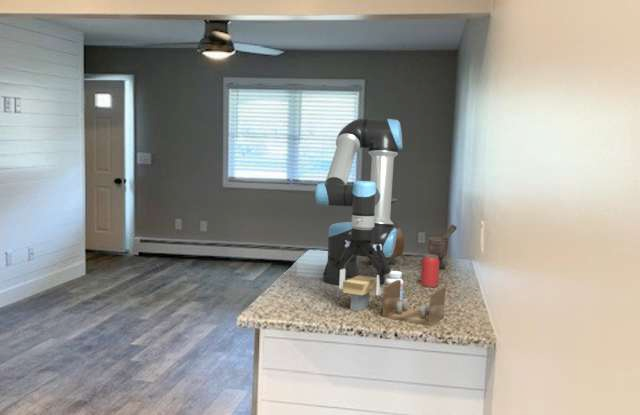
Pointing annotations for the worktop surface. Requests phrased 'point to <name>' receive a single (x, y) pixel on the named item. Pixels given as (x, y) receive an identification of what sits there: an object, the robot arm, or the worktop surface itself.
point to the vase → (399, 241)
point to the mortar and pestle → (440, 245)
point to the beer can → (430, 270)
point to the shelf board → (359, 285)
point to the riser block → (359, 301)
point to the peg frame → (425, 316)
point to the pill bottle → (395, 276)
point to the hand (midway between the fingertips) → (360, 291)
